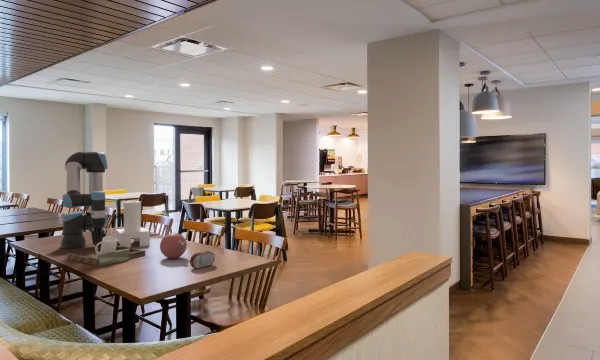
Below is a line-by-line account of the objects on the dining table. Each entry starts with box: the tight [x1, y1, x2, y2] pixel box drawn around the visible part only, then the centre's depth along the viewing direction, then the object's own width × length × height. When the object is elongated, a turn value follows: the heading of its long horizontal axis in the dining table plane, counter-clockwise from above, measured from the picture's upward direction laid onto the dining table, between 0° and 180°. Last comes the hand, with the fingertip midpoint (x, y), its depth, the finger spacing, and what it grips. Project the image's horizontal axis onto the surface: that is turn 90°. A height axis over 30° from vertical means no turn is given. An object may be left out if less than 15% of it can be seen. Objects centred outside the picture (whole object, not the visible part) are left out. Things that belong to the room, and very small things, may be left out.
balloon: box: [159, 232, 188, 260], centre depth 236 cm, size 15×20×15 cm
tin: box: [189, 250, 215, 269], centre depth 218 cm, size 15×3×8 cm, turn 141°
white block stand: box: [115, 200, 151, 248], centre depth 277 cm, size 19×19×30 cm
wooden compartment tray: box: [66, 245, 146, 267], centre depth 239 cm, size 32×31×6 cm
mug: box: [94, 235, 118, 254], centre depth 231 cm, size 12×8×12 cm
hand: (98, 256), depth 235 cm, fingers closed
